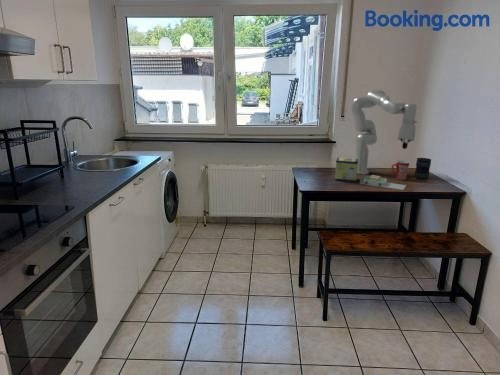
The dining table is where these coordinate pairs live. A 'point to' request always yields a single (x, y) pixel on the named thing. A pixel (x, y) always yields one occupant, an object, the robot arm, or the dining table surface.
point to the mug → (401, 170)
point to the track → (387, 185)
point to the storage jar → (422, 168)
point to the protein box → (346, 169)
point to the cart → (367, 180)
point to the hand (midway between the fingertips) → (404, 148)
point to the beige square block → (375, 178)
